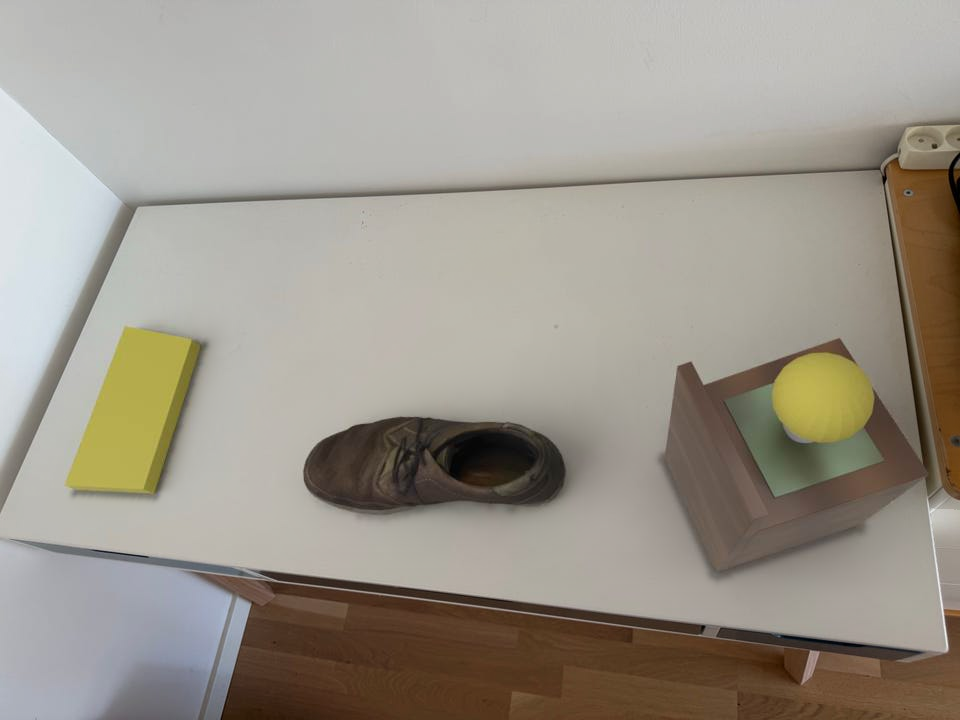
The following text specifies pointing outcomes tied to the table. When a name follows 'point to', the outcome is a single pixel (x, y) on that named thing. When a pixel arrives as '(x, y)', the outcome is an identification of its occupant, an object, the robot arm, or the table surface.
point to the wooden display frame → (775, 466)
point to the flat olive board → (135, 414)
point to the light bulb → (822, 398)
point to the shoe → (433, 465)
